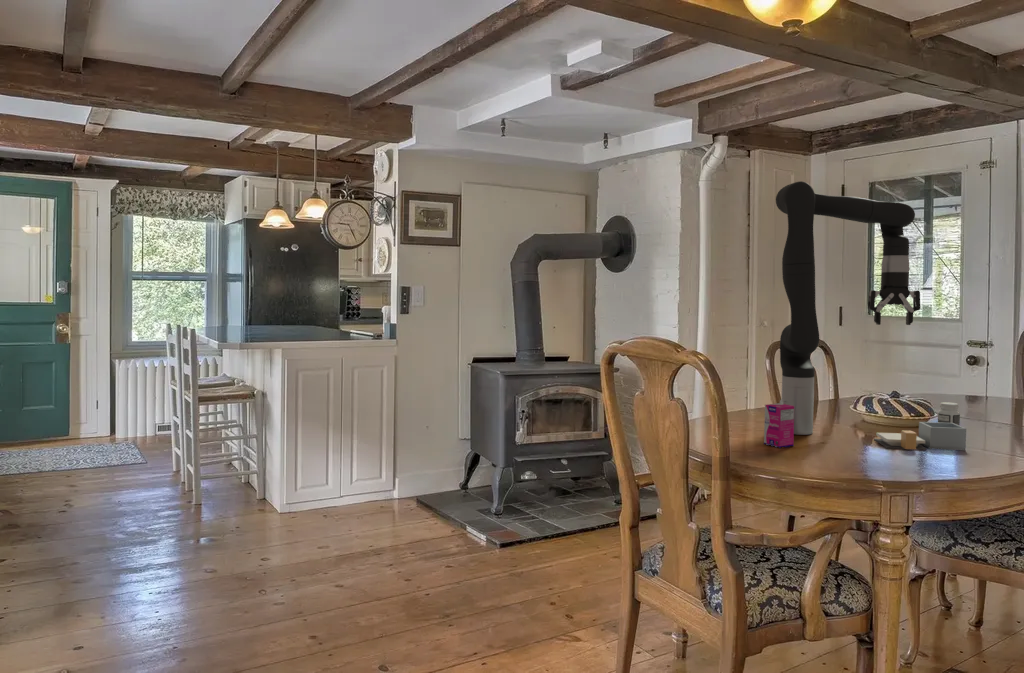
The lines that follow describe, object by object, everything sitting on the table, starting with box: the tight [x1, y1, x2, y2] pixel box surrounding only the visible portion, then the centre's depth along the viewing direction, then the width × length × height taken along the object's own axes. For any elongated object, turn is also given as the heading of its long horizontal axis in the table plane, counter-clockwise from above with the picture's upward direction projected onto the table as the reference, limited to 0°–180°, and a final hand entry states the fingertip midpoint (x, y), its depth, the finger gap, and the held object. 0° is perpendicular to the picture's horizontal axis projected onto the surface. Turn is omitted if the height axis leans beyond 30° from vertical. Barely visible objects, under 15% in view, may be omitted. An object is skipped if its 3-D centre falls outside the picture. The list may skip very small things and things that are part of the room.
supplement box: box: [763, 402, 795, 449], centre depth 214 cm, size 6×6×12 cm
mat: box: [873, 438, 927, 451], centre depth 217 cm, size 10×12×1 cm
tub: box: [918, 421, 967, 451], centre depth 215 cm, size 9×9×6 cm
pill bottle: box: [937, 401, 961, 426], centre depth 230 cm, size 6×6×10 cm
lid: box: [876, 429, 925, 451], centre depth 214 cm, size 14×10×5 cm
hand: (893, 324), depth 233 cm, fingers open, 8 cm apart
